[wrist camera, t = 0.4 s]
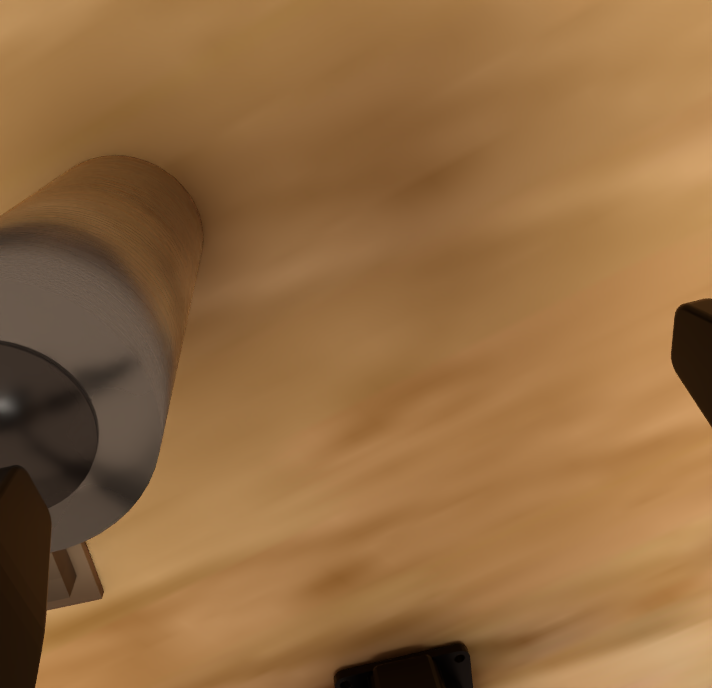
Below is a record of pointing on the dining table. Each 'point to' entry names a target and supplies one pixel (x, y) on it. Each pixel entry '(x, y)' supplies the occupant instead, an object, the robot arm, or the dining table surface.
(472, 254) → the dining table surface
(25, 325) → the grey cylindrical can
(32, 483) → the robot arm
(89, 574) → the grey square tray
